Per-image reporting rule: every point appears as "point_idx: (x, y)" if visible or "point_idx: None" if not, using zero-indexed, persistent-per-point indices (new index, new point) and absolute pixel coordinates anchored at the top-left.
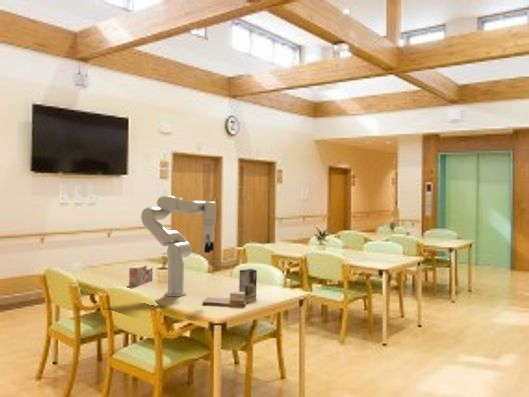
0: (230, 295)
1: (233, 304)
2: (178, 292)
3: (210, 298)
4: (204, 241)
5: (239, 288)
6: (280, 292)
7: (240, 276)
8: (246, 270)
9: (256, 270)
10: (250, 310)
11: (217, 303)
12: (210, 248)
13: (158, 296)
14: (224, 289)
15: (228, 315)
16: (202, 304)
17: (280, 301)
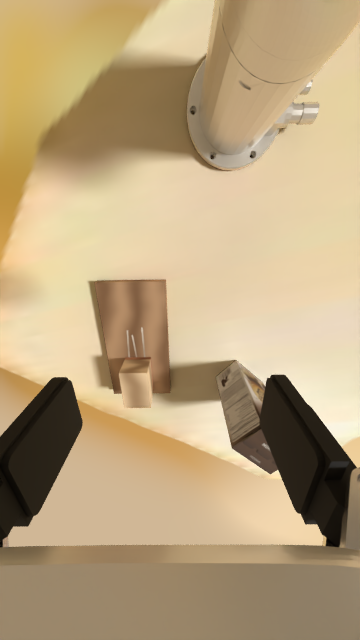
0: (120, 370)
1: (110, 367)
2: (206, 135)
3: (152, 295)
4: (8, 565)
5: (241, 375)
6: None
7: (250, 409)
8: (259, 448)
9: (269, 473)
10: (89, 403)
11: (103, 327)
12: (273, 418)
13: (178, 23)
14: (334, 302)
15: (22, 367)
16: (97, 281)
17: (193, 446)
